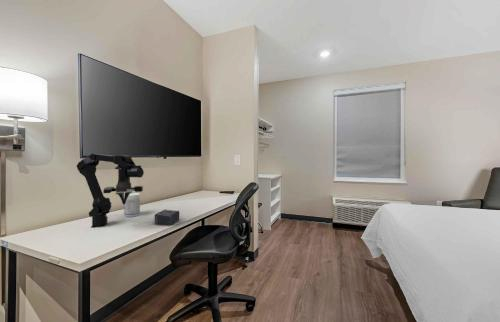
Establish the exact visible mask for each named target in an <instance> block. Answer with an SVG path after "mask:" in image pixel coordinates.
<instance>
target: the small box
mask: <svg viewBox="0 0 500 322" xmlns="http://www.w3.org/2000/svg"><path fill="white" fill-rule="evenodd" d="M179 221H180V210H173V209H172V210H171V209H163V210H161V211H158V212H156V213H155V214H154V225H161V226H172V225H173V224H175V223H176V222H179Z"/></svg>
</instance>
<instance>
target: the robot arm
mask: <svg viewBox="0 0 500 322" xmlns="http://www.w3.org/2000/svg"><path fill="white" fill-rule="evenodd" d="M100 162H107V163H108V162H109V163H113V164H114V165H116V166H115V168H114V170H117V172H118V173H117V177H118V178H117V183H116V185H115V186H106V187H104V189H103V191H102V189H101V186H100V183H99V180H98V179H97V175H96V172H97V167H98V165H99V163H100ZM76 168H77V171H78V172H79V174H80V175H82V176H83V177H84V178H85V180H86V181H85V182H86V183H87V186H88V189H89V190H90V191H89V192H90V194H91V196H92V199H93V201H92V205H91V206H92V209H91V210H90V211H88V217H90V218H91V226H90V228H98V227H101V228H102V227H105V226H107V224H109V223H108V222H109V221H108V219H109V217H108V216H107V214H110V211H111V210H112V209H111V208H112V204H113V203H112V202H111V198H110V197H106V196H104V194H110V193H112V192H115V195H117V196H118V197H119V198H120V201H121V203H122V204H123V206H124V205H125V203H126V201H127V198H128V196H129V194H131V193H133V191H134V193H141V192H143V191H144V186H143V185H135V186H134V187H133V186H132V182H131V178H137V179H138V178H143V177H144V176H143V175H144V173H145V172H144V169H143V168H142V165H141V164H140V165H139V164H138V165H136V163H135V161H134V160H133V158H132V156H131V155H127V154H126V155H125V154H124V155H123V154H118V155H112V154H101V153H96V152H94V153H91V154H89V155H88V156H86V157H84V158H83V159H81V160H80V161H78V162H77V164H76ZM124 195H125V198H124Z"/></svg>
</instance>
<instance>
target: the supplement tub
mask: <svg viewBox="0 0 500 322" xmlns="http://www.w3.org/2000/svg"><path fill="white" fill-rule="evenodd" d="M124 198H125V194H124ZM139 215H141V194H140V192H134V193H133V192H132V193H131V194H129V196H128V198H127V201H126V203H125V205H123V216H124V217H125V218H134V217H138V216H139Z"/></svg>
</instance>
